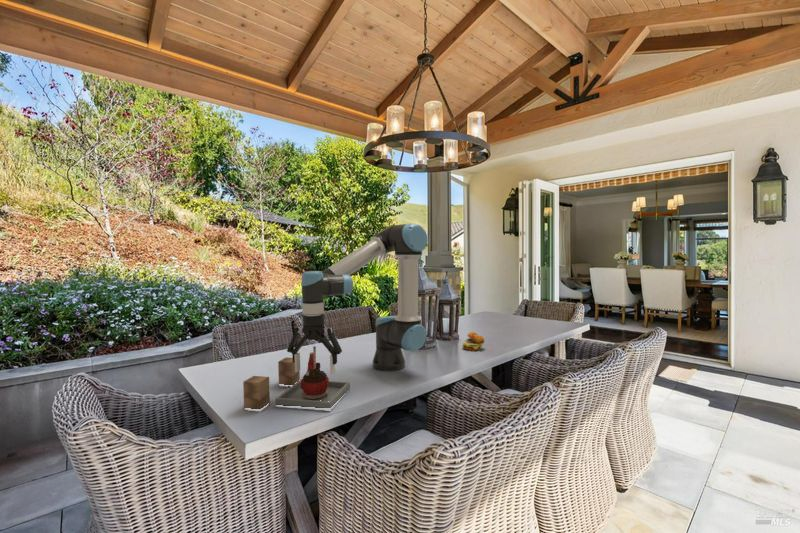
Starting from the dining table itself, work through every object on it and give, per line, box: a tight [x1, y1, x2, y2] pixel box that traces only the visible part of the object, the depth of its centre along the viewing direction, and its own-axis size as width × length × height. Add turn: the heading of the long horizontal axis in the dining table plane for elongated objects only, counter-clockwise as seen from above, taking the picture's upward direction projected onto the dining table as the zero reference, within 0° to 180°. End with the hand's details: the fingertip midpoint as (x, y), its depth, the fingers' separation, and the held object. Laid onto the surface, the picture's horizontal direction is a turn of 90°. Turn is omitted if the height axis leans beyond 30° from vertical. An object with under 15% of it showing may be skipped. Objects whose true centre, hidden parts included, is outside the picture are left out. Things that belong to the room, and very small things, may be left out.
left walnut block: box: [242, 375, 271, 409], centre depth 131 cm, size 6×6×10 cm
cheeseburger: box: [461, 331, 485, 352], centre depth 205 cm, size 10×11×10 cm
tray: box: [274, 378, 351, 408], centre depth 139 cm, size 20×20×3 cm
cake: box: [300, 345, 330, 399], centre depth 138 cm, size 11×9×18 cm
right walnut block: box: [277, 357, 301, 385], centre depth 153 cm, size 6×6×10 cm
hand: (315, 372), depth 139 cm, fingers open, 13 cm apart
